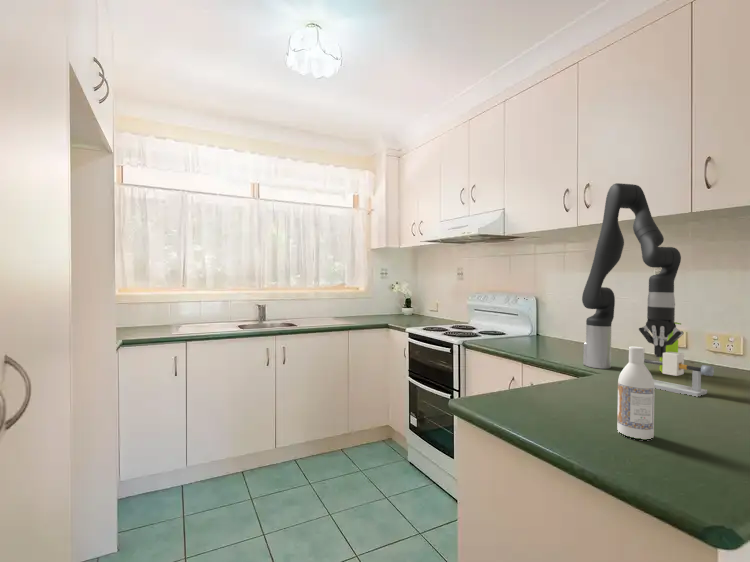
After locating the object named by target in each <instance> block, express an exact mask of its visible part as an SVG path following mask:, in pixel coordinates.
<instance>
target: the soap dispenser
mask: <svg viewBox="0 0 750 562" xmlns="http://www.w3.org/2000/svg"><path fill="white" fill-rule="evenodd" d="M674 323H675V325H682V323H681V322H675V321H674ZM673 332H674V331H672V332H671V334H670V335H668V339H667V341H668V340H669V339H670V338H671V337H672V336H673ZM666 352H677V353H679V339H677V340H676V341H675V342H674V343H673V344H672V345H667V346H666ZM659 361H661V362H663V357H659ZM662 366H663V365H659V372H660V371H661V373H662Z"/></svg>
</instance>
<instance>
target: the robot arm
mask: <svg viewBox="0 0 750 562" xmlns="http://www.w3.org/2000/svg"><path fill="white" fill-rule="evenodd" d="M621 209H630V211H631V212H633V214H634V216H635V218H634V221H633V226H632V228H633V234H634V235H635V237H636V239H637V240H638V243H639V244H640V248H641V257H642V261H643V263H644V264H645V265H646V266H647V267H650V268H658V269H659V268H661V270H660V271H659V273H658V274H653V275H650V276H649V278H648V296H647V307H646V308H647V310H646V311H647V316H646V317H647V319H646V322H645V325H644V326H642V327H639V328H638V331H639V332H640V333H641V335H642V336H643V337H644V339H645V340H646V341H647V343H649V344H652V345H653V346H654V348H653V349H654V350H653V351H654V355H655V357H656V358H660V357H663V353H665V352H666V346H667V345H672V344H673V343H674V342H675V341H676V340H679V339H680V338H681V337H682V336H683V335H684V331H683V330H680V329H679V328H677V324H675V323H674V322H675V317H676V316H675V315H676V314H675V312H676V311H675V309H676V299H675V280H676V276H677V274H678V270H679V267H680V265H681V263H682V262H681V261H682V255H681V252H680V251H679V249H678V248H677V247H674V246H661V245H662V244H663V242H664V240H665V238H664V235H663V233H662V232H661V230H660V229H659V226H658V225H657V224H656V222H655V220H654V218H653V216H652V214H651V210H650V207H649V204H648V201H647V198H646V195H645V192H644V190H643V189H642V187H641V186H639V185H638V184H632V183H631V184H630V183H613V184H612V185H611V186H610V187H609V189H608V191H607V194H606V198H605V205H604V211H603V219H602V223H601V228H600V232H599V237H598V240H597V244H596V246H595V247H596V248H595V251H594V256H593V260H592V261H593V262H592V264H591V269H590V273H589V275H588V278H587V281H586V283H585V286H584V289H583V291H582V298H581V301H582V305H583V307H584V308H586V309H589V310H595V313H594V314H593V315H591V316H588V317H587V318H586V321H585V322H586V325H585V327H586V328H585V331H586V332H585V334H586V335H585V342H584V343H583V361H582V362H583V363H582V364H583V366H586V367H589V368H594V369H604V370H605V369H611V367H612V365H611V364H612V322H613V320H614V317H615V316H614V315H615V304H616V300H615V299H616V298H615V297H616V295H615V293H614V291H613V289H611V288H610V287H607V286H606V287H603V283H604V280H605V279H606V277H607V276H608V275H609V274H610V272H611V271H612V270H613V269H614V268H615V266H616V265H618V263H619V261H620V260H621V257H622V253H623V250H624V246H625V238H624V236H623V232H622V231H621V228H620V225H619V215H620V210H621ZM672 331H674V332H673V336H672V337H671V338H670V339H669V340H668V341H667V339H668V335H670V334H671V332H672ZM651 334H652V335H651Z"/></svg>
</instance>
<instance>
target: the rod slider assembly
mask: <svg viewBox="0 0 750 562" xmlns="http://www.w3.org/2000/svg"><path fill="white" fill-rule="evenodd" d="M645 363H646V364H653V365H656V366H657V365H658V366H660V365H663V362H661V361H660V360H653V359H647V358H644V364H645ZM679 369H684V370H685V371H686V370H688V371H689V370H690V371H691V376H692V377H691V379H692V380H691V386H690V385H683V384H679V383H678V384H677V383H673V382H667V381H663V380H657V379H653V380H654V386H655V388H656V389H655V390H660V389H661V390H662V391H665V390H666V392H670V393H676V394H680V393H681V394H680V395H684V394H687V395H686V396H689V395H692V396H691V397H694V396H696V397H695V398H699V397H702V396H704V395H707V394H708V389H705V388H702V387H701V386H702V376H703V375H704V376H709V377H713V376H714V374H715V368H714V366H712V365H704V364H702V365H701V366H700V367H699V366H693V365H688V364H684V365H683V364H679ZM661 390H660V391H661ZM701 395H702V396H701ZM698 396H699V397H698Z"/></svg>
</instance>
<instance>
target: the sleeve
mask: <svg viewBox="0 0 750 562" xmlns="http://www.w3.org/2000/svg"><path fill="white" fill-rule="evenodd" d="M679 364H683V365H685V353H684V352H678V353H677V352H665V353H663V366H662V372H661V373H662V375H663V374H664V375H669V376H674V377H675V376H676V377H677V376H681V375H684V373H685V371H684V370H685V369H679Z"/></svg>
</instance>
